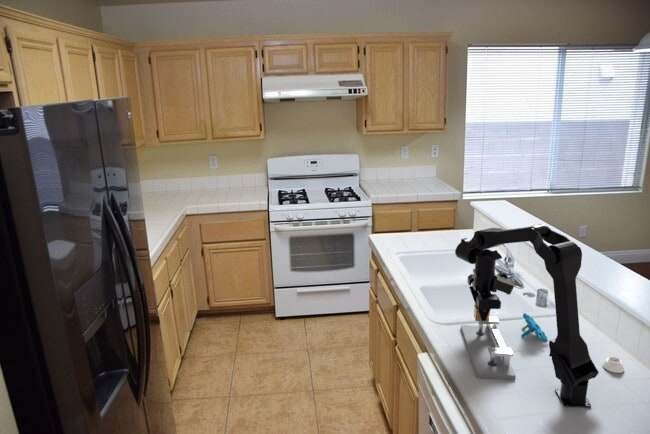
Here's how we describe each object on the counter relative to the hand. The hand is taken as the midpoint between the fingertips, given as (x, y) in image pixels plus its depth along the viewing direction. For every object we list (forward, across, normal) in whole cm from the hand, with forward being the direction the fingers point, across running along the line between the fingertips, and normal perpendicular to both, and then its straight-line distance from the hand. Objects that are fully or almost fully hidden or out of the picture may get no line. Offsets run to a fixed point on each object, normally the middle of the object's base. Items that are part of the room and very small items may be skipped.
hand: (481, 315), depth 143 cm
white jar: (+8, -14, -33) cm, 37 cm away
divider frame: (+6, -7, -2) cm, 9 cm away
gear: (+8, +1, -16) cm, 18 cm away
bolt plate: (+8, -8, 0) cm, 11 cm away
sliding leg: (+6, 0, -2) cm, 6 cm away
